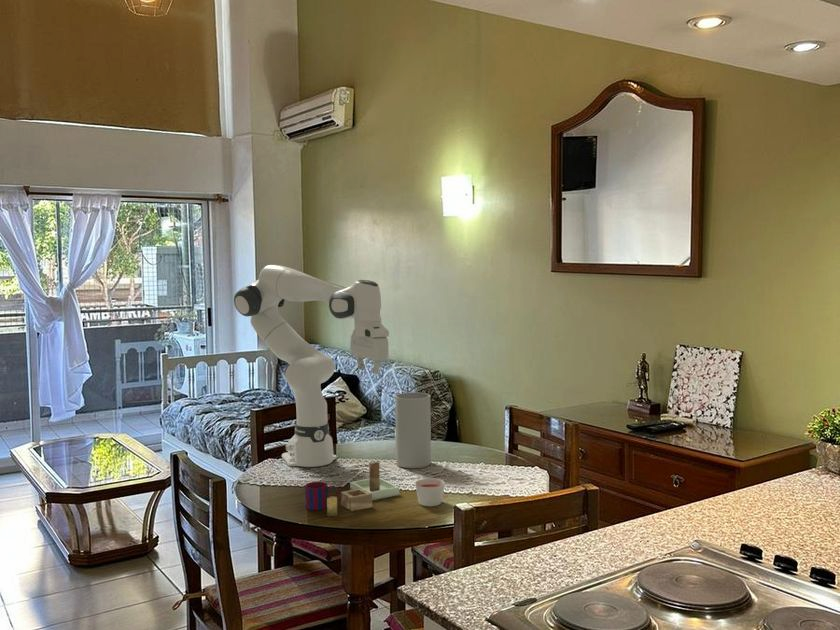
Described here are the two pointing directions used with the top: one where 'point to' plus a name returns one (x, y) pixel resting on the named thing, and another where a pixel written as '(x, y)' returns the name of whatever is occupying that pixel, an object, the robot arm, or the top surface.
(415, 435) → the cylinder vase
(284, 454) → the robot arm
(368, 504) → the socket block
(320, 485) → the mug
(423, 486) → the candle
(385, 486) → the tray
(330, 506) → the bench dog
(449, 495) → the top surface
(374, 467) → the dowel
